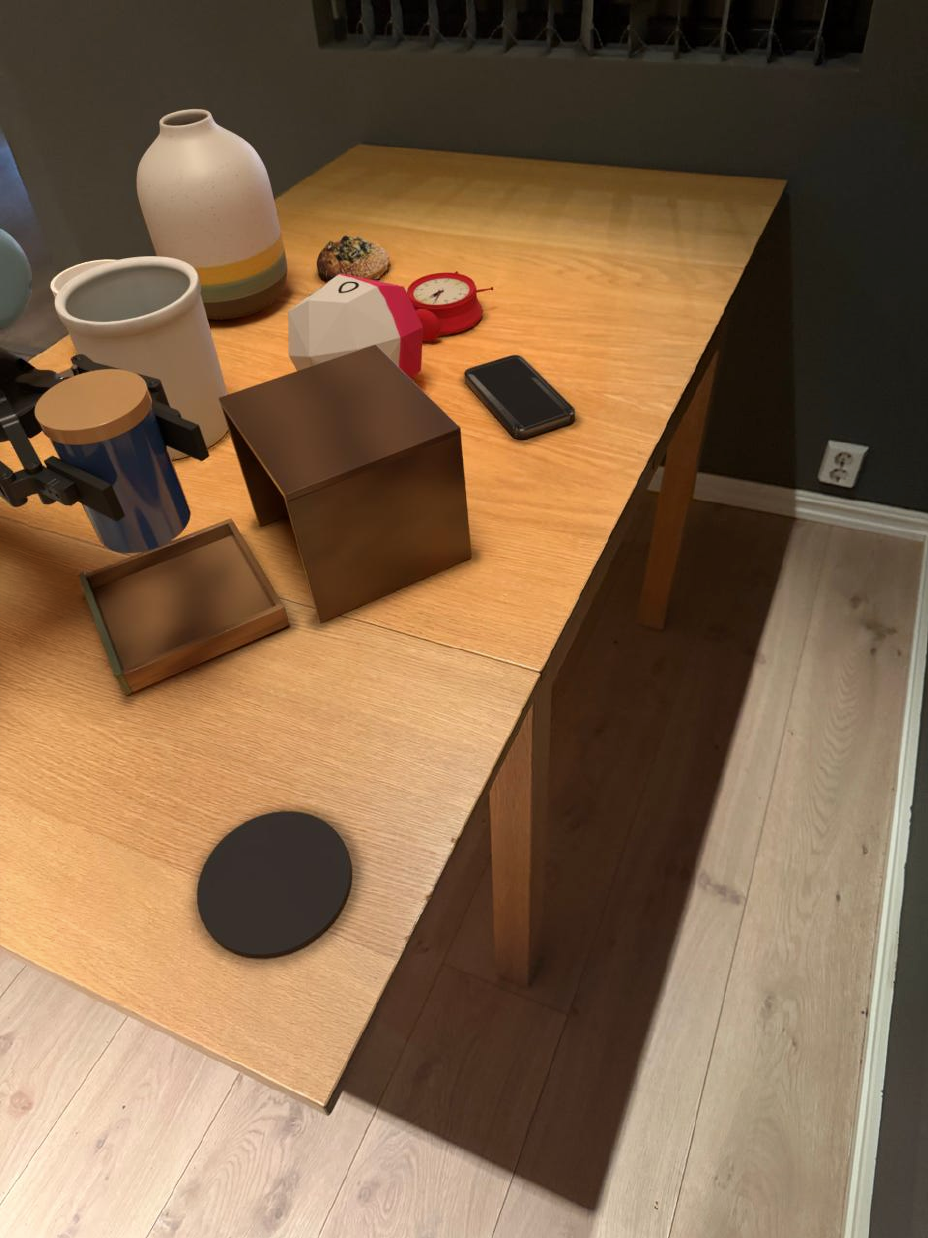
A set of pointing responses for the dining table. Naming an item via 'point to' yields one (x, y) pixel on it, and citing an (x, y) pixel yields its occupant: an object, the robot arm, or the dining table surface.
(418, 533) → the cabinet
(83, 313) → the utensil holder
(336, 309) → the decorative object
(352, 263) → the bread roll
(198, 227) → the vase
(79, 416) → the jar
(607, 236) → the dining table surface
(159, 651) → the drawer
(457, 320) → the alarm clock
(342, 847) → the coaster
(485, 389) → the phone
